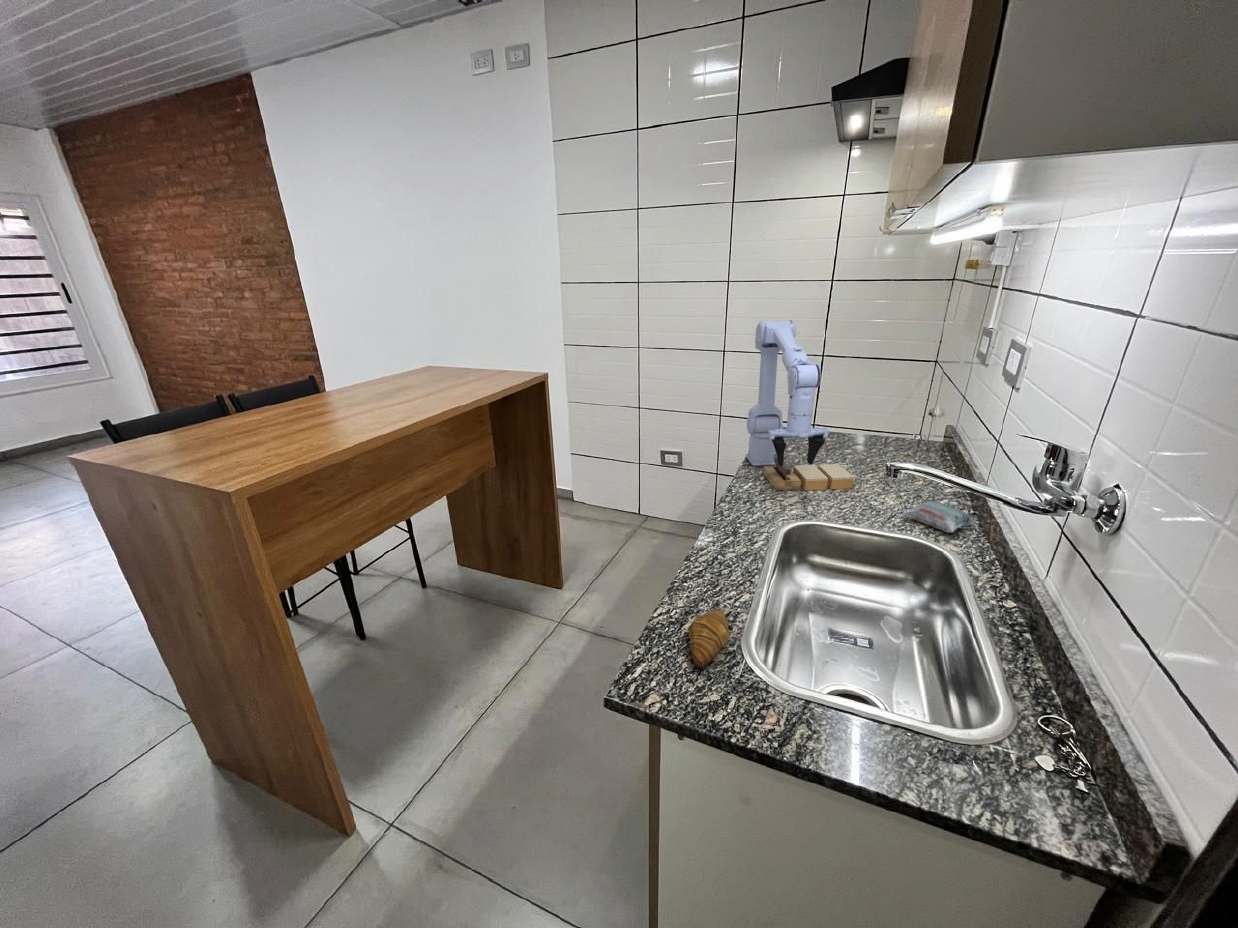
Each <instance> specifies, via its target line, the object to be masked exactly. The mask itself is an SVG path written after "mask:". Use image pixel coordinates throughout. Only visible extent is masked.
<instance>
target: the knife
mask: <svg viewBox="0 0 1238 928" xmlns="http://www.w3.org/2000/svg"><path fill="white" fill-rule="evenodd" d="M774 463H775V464H776V465H775V466H776V468H775V470H776V472H777V473H778V474H779V475H780V476H781V478H782V479H783V480H788V475H791V470H792V469H791V468H790V467H789V466H788V465H787V463H786V462H785V461H784V462H783V466H780V465H779V464H778V460H777V456H776V457H775V456H774Z"/></svg>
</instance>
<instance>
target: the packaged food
mask: <svg viewBox="0 0 1238 928" xmlns="http://www.w3.org/2000/svg"><path fill="white" fill-rule="evenodd" d="M902 514H903V515H907V516H910V517H911V519H913V520H914V521H916V522H919V523H922V524H923V525H927V526H930V527H932V528H934V529H936V530H939V531H942V532H945V533H947V534H948V533H951V534H952V533H954V532H955V531H956V530H958V529H961V528H965V527H969V526H972V525H975V524H976V521H975V520H974V519H973V518H972V517H971V516H970V515H969V514H968V513H967V512H966V511H964V510H961V509H958V508H956V507H954V506H951V505H948V504H945V503H942V502H941V501H937V500H928V501H926V502H923V503H921V504H920V505H917V506H915V507H914V508H913V509H909V510H904V511H902Z"/></svg>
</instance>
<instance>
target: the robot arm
mask: <svg viewBox="0 0 1238 928" xmlns="http://www.w3.org/2000/svg"><path fill="white" fill-rule="evenodd" d="M796 335H797V325H796V323H795V321H794V320H793V319H789V320H770V321H763V320H761V321H759V322H758V323H757V325H756V328H755V339H754V345H755V349H756V350H758V351H759V352H760V362H759V365H760V366H759V379H758V380H759V382H758V398H757V400H758V401H757V404H755V405H754V406H753V407H751V408H750V409H749V410H748V415H747V418H746V430H747V432H748V434H749V435H750V436H749V437H748V438H749V439H748V452H747V453H745V455H744V456H745V457H746V459H747V460H748V462H749V463H750V464H751V466H752V467H753V466H754V467H755V466H757V467H758V466H760V467H761V466H776V464H775V463H774V457H775V455H776V457H777V460H778V464H779V465H780V466H783V462H785V461H784V458H785V451H786V446H787V443H786V441H785V439H797V438H801V439H802V438H807V443H808V445H807V449H808V450H807V455H806V463H808V465H814V462H815V459H816V456H817V455H818V453H819V451H820V449H821V448H822V447H823V446H824V445H825V442H826V439H825V438H829V431H830V430H829V429H828V428H827V427H812V420H813V414H814V413H813V411H814V403H815V394H816V389H817V388H818V387H819V386H820V384H821V380H822V370H821V368H820V367H821V366H820V365H819V363H814V362H811V361H810V359H809V357H808V355H807V353H806V351H805V350H804V348H803V347H801V346H798V345H797V343H796ZM780 351H781V352H782V355H781V361H782V364H783V366H784V368H785V370H786V373H787V377H786V378H787V392H788V393H787V394H788V395H789V399H788V407H787V408H788V410H787V419H786V420H787V421H786V427H783V426H784V421H783V411H782V409H781V408H779V407H778V406H777V405H775V400H776V387H777V386H776V385H777V369H778V355H779V352H780ZM775 453H776V454H775Z"/></svg>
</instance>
